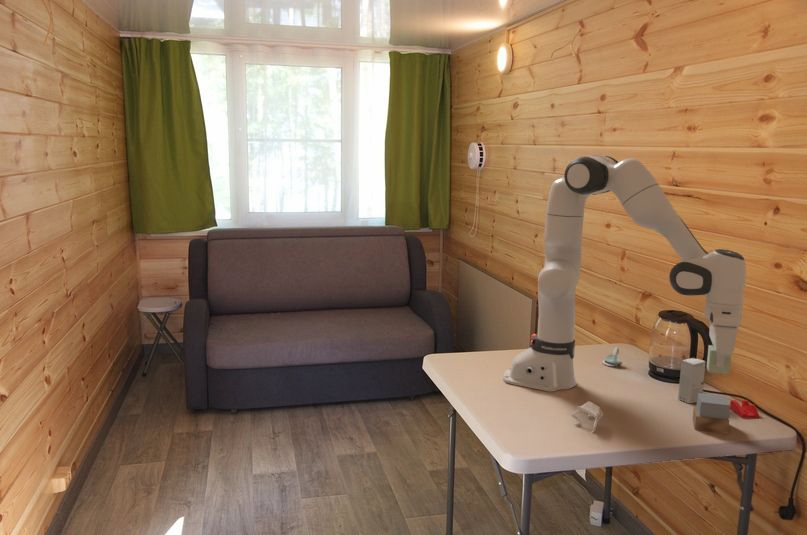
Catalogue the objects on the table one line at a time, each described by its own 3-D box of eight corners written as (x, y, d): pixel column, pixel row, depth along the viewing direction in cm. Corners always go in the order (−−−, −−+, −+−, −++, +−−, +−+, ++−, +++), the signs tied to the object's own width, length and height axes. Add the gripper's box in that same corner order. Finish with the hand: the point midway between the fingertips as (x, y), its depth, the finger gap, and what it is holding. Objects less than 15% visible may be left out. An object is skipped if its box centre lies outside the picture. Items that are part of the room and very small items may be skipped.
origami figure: (564, 418, 186) (566, 401, 185) (593, 416, 187) (594, 399, 186) (584, 436, 174) (585, 418, 173) (614, 434, 176) (615, 416, 175)
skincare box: (690, 404, 197) (694, 364, 195) (676, 399, 201) (680, 360, 199) (702, 400, 201) (707, 361, 198) (689, 395, 204) (693, 356, 202)
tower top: (699, 416, 179) (701, 401, 179) (696, 406, 186) (697, 392, 185) (728, 419, 177) (730, 405, 177) (724, 409, 184) (725, 395, 183)
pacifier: (605, 368, 228) (623, 368, 228) (606, 350, 227) (624, 350, 227) (599, 361, 236) (617, 361, 235) (600, 344, 234) (617, 343, 234)
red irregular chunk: (729, 410, 195) (730, 400, 194) (745, 409, 195) (746, 400, 194) (741, 419, 188) (743, 408, 188) (758, 418, 189) (759, 408, 188)
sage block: (708, 372, 178) (710, 350, 177) (706, 366, 183) (708, 345, 182) (729, 374, 177) (731, 352, 176) (726, 368, 181) (729, 347, 180)
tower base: (694, 430, 180) (696, 416, 179) (692, 419, 187) (693, 405, 187) (727, 435, 177) (729, 420, 177) (724, 423, 185) (725, 409, 184)
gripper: (706, 302, 188) (701, 350, 190) (714, 320, 169) (708, 373, 171) (731, 304, 186) (726, 353, 188) (742, 322, 167) (736, 376, 169)
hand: (718, 362), depth 179 cm, fingers closed on sage block, 5 cm apart
